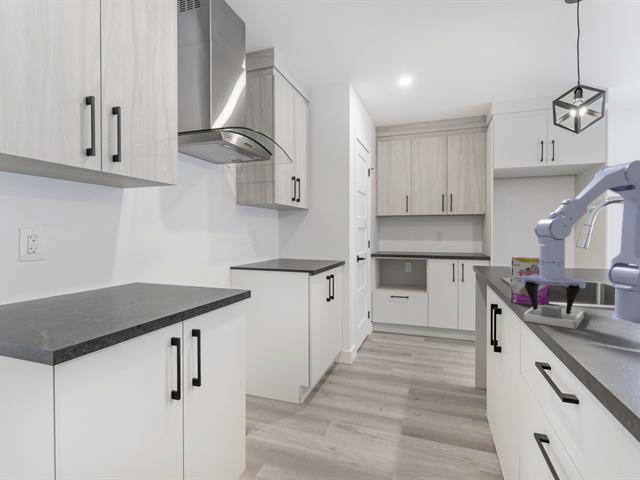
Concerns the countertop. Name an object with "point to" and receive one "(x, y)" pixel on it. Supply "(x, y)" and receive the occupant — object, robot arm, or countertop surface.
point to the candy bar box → (518, 291)
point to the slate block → (551, 311)
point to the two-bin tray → (565, 321)
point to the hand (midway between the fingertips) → (551, 311)
